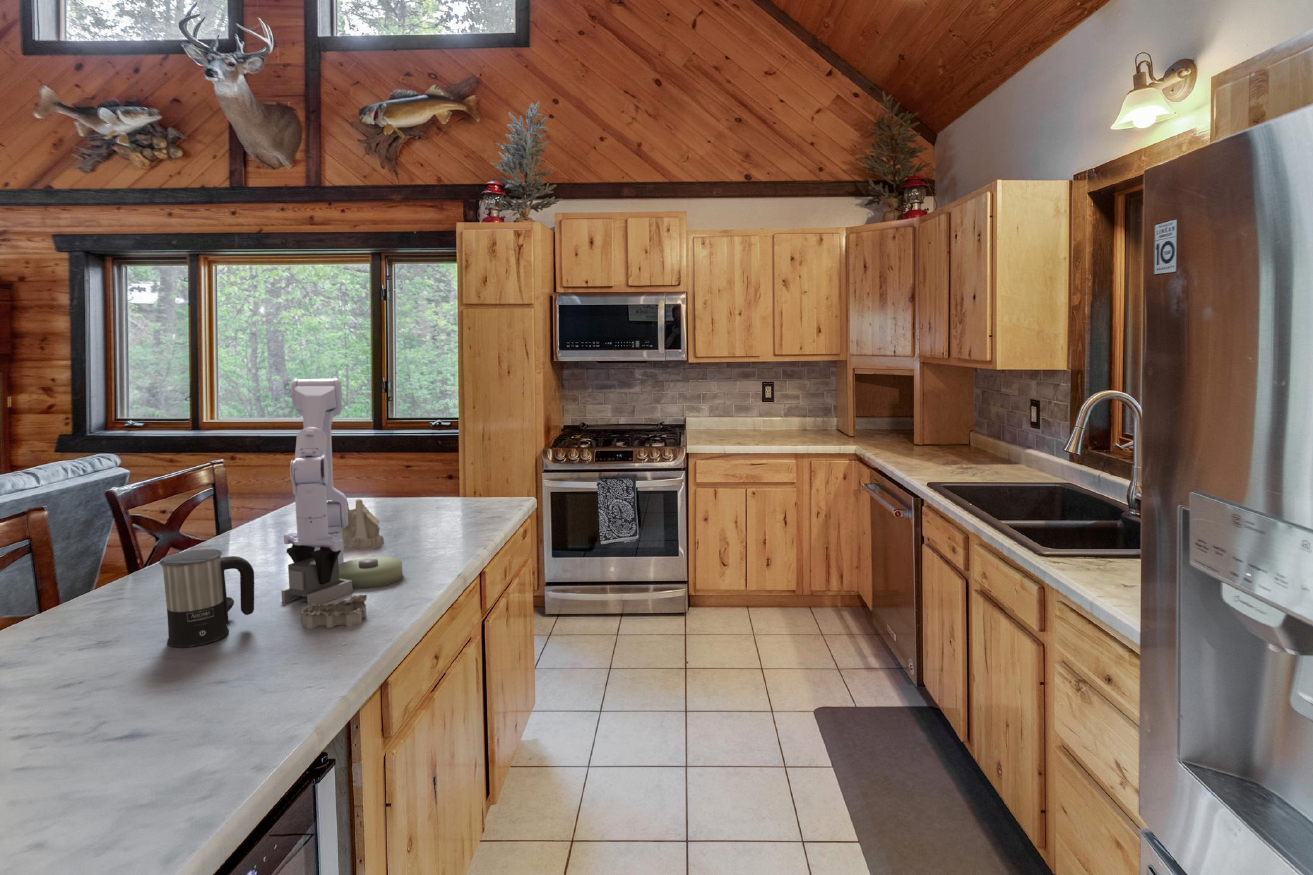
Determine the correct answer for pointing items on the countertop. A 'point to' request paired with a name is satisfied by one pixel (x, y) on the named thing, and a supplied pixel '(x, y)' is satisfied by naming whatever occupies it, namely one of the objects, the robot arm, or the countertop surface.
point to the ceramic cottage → (361, 529)
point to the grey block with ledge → (308, 577)
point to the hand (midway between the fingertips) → (315, 581)
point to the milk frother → (202, 595)
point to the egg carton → (335, 613)
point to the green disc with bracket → (355, 578)
